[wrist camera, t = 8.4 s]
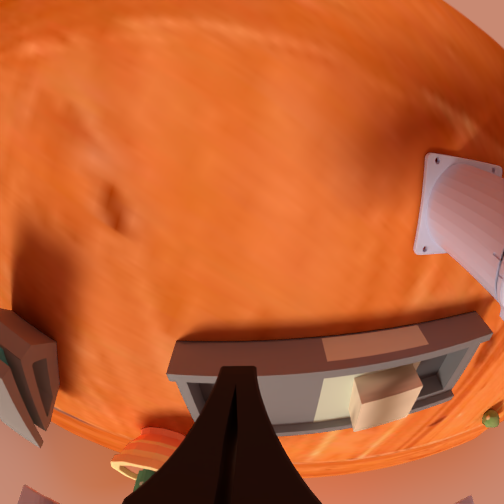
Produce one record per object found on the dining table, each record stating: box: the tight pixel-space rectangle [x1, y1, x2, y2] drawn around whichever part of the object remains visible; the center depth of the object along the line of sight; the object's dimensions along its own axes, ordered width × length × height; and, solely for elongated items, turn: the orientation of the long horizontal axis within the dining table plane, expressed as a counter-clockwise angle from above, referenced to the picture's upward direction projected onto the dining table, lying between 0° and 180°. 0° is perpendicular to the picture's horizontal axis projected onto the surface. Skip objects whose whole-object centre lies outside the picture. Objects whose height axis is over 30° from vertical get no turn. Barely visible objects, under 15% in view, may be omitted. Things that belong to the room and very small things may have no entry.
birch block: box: [348, 363, 423, 432], centre depth 21 cm, size 6×6×3 cm
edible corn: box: [482, 409, 499, 427], centre depth 39 cm, size 5×20×5 cm
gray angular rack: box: [0, 308, 60, 448], centre depth 22 cm, size 25×8×11 cm, turn 151°
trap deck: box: [166, 311, 493, 436], centre depth 24 cm, size 32×12×4 cm, turn 93°
